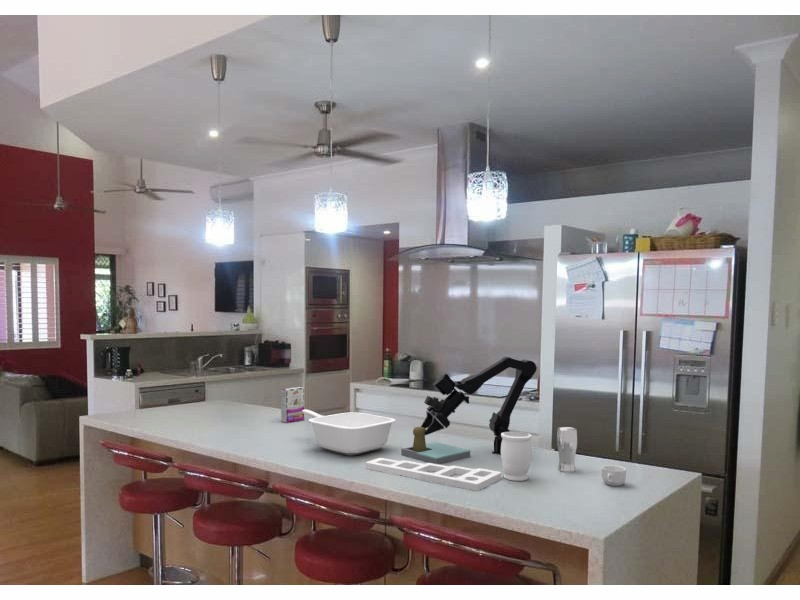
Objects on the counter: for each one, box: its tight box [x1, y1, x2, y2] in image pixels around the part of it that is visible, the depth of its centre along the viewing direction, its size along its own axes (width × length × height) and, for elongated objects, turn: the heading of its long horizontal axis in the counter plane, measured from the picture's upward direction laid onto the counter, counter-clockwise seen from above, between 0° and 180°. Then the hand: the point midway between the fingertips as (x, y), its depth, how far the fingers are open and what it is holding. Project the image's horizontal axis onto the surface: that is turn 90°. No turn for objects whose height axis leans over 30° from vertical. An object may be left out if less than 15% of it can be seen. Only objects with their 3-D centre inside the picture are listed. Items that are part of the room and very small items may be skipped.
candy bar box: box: [280, 386, 305, 424], centre depth 314 cm, size 11×5×16 cm, turn 138°
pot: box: [302, 408, 396, 457], centre depth 260 cm, size 28×44×13 cm, turn 48°
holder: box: [365, 457, 503, 492], centre depth 221 cm, size 45×18×3 cm, turn 55°
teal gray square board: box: [400, 441, 471, 465], centre depth 246 cm, size 19×19×2 cm
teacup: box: [601, 464, 627, 487], centre depth 209 cm, size 10×8×5 cm
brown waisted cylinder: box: [412, 426, 427, 452], centre depth 246 cm, size 6×6×11 cm
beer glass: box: [556, 426, 578, 473], centre depth 227 cm, size 7×7×15 cm
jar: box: [500, 431, 532, 482], centre depth 216 cm, size 11×10×15 cm
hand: (422, 431), depth 246 cm, fingers open, 9 cm apart
